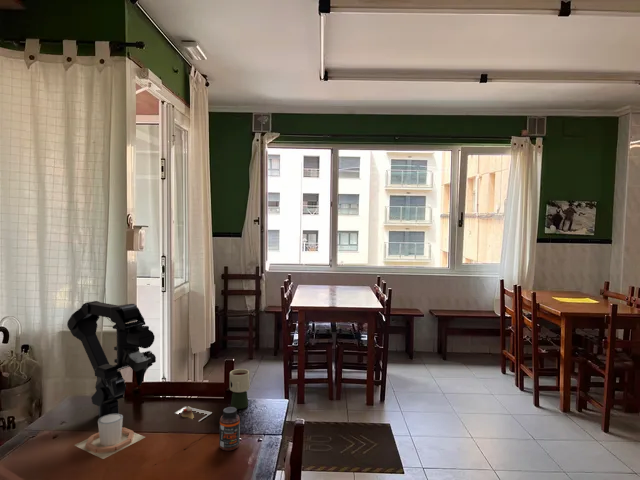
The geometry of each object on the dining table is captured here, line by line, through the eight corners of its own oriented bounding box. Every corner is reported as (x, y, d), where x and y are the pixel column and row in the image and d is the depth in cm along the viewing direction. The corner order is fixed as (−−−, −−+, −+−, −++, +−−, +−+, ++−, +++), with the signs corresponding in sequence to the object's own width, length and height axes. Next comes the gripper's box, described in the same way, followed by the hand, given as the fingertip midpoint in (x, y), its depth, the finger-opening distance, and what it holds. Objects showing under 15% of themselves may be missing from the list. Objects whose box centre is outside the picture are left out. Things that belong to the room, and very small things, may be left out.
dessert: (160, 423, 144) (160, 409, 144) (185, 409, 155) (185, 396, 155) (189, 431, 139) (189, 416, 139) (212, 415, 150) (212, 402, 150)
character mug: (231, 400, 161) (231, 366, 161) (250, 400, 162) (250, 366, 161) (227, 414, 150) (227, 377, 150) (247, 413, 151) (247, 377, 150)
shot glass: (113, 448, 125) (112, 424, 125) (92, 445, 127) (92, 422, 126) (128, 436, 132) (128, 414, 132) (108, 433, 134) (108, 412, 133)
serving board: (74, 449, 127) (73, 445, 127) (117, 429, 139) (117, 425, 139) (103, 463, 120) (103, 459, 120) (145, 440, 132) (145, 437, 132)
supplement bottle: (222, 453, 125) (222, 415, 125) (217, 443, 131) (217, 407, 130) (242, 448, 128) (242, 411, 128) (236, 439, 134) (236, 403, 133)
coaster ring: (78, 444, 127) (78, 441, 127) (116, 427, 138) (116, 424, 138) (103, 456, 121) (103, 453, 121) (141, 437, 132) (141, 434, 132)
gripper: (115, 355, 127) (116, 406, 128) (166, 340, 144) (167, 385, 144) (93, 349, 133) (94, 398, 134) (144, 335, 149) (145, 379, 150)
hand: (127, 390), depth 140 cm, fingers open, 9 cm apart
